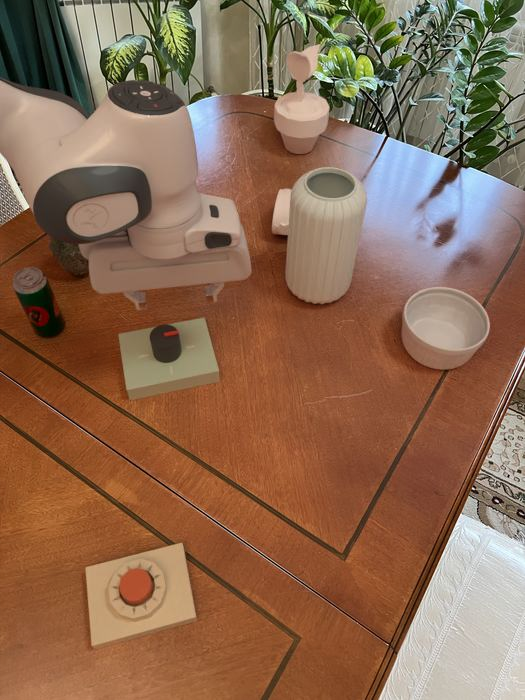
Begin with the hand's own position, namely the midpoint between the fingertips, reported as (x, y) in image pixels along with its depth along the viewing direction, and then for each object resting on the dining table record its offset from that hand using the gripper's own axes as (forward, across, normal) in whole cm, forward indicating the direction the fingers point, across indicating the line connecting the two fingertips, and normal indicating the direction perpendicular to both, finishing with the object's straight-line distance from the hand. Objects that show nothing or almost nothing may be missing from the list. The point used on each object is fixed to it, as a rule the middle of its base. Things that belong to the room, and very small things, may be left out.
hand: (176, 302), depth 78 cm
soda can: (+16, -22, +12) cm, 30 cm away
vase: (+16, +24, +15) cm, 32 cm away
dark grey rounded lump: (+16, -17, +24) cm, 34 cm away
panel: (+16, -3, +2) cm, 16 cm away
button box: (+16, -8, -33) cm, 38 cm away
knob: (+13, -3, +2) cm, 13 cm away
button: (+12, -8, -33) cm, 36 cm away
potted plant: (+16, +30, +57) cm, 67 cm away
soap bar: (+16, +24, +31) cm, 42 cm away
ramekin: (+16, +41, -1) cm, 44 cm away
